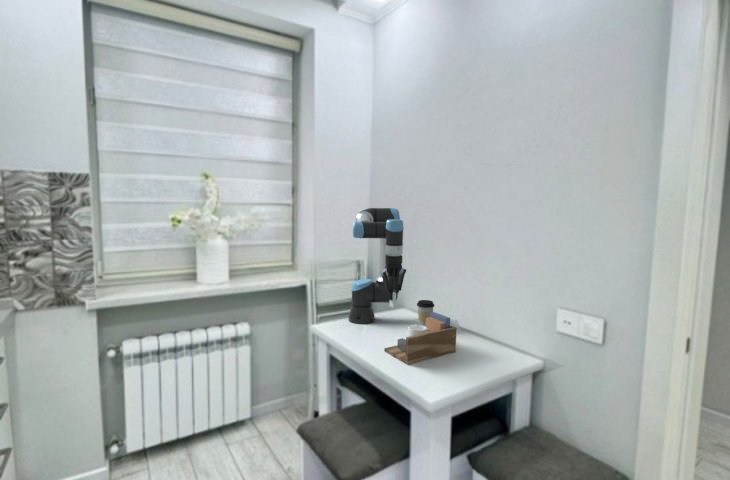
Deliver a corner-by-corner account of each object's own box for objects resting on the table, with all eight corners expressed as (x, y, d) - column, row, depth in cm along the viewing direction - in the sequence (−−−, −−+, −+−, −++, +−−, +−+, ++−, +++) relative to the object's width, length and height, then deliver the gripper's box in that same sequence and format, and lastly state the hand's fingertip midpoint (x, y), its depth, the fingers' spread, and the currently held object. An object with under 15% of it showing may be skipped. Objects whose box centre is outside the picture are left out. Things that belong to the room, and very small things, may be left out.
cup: (404, 347, 179) (404, 326, 178) (425, 343, 185) (425, 322, 184) (414, 353, 172) (415, 331, 171) (436, 349, 178) (436, 327, 177)
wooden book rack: (384, 351, 178) (384, 326, 177) (430, 340, 193) (431, 318, 192) (407, 364, 164) (408, 338, 163) (455, 352, 179) (456, 327, 178)
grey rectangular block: (397, 347, 178) (397, 339, 178) (402, 346, 180) (402, 338, 179) (409, 354, 171) (409, 345, 170) (415, 353, 172) (415, 344, 172)
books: (424, 342, 187) (425, 313, 185) (433, 340, 190) (434, 312, 188) (440, 349, 177) (441, 319, 176) (449, 347, 180) (450, 317, 179)
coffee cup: (433, 326, 215) (433, 299, 214) (434, 332, 206) (435, 304, 204) (415, 325, 216) (416, 299, 215) (416, 331, 207) (417, 303, 205)
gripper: (386, 257, 164) (385, 311, 167) (410, 254, 171) (409, 306, 174) (376, 254, 171) (375, 306, 173) (400, 252, 178) (399, 302, 180)
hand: (392, 306), depth 174 cm, fingers closed
